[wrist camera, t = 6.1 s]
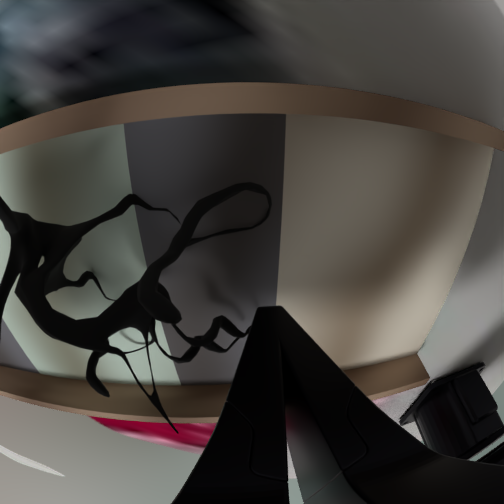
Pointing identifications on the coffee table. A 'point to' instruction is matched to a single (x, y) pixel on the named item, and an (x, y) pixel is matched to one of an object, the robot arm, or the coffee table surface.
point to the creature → (119, 312)
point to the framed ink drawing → (243, 233)
